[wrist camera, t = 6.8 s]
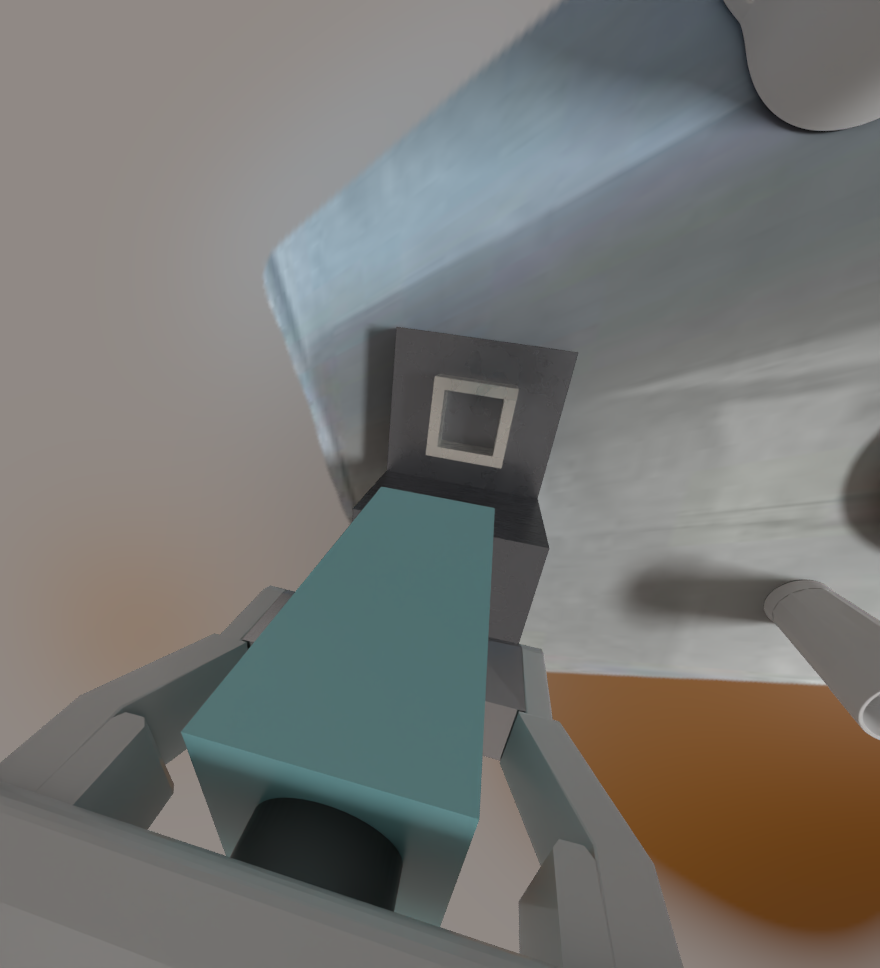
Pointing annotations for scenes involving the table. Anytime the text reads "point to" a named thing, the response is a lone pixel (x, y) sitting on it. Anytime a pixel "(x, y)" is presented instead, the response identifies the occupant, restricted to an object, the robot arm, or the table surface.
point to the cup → (833, 644)
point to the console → (480, 445)
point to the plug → (362, 713)
